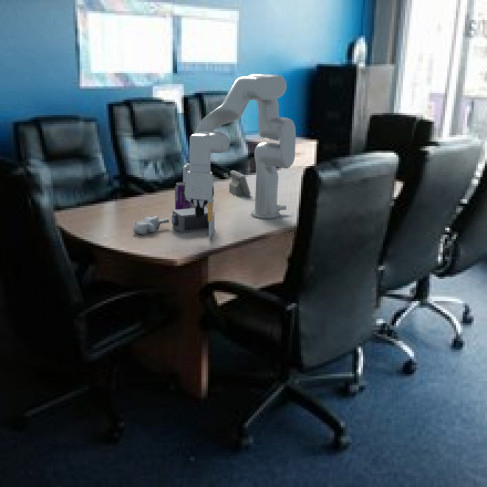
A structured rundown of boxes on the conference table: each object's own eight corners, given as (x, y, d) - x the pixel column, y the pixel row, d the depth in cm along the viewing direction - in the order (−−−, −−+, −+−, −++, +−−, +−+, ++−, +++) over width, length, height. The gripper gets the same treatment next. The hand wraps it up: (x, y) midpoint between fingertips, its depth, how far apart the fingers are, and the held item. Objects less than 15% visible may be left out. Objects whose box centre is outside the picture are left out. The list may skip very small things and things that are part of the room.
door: (210, 228, 228) (211, 195, 223) (214, 228, 228) (215, 195, 223) (207, 238, 215) (208, 203, 211) (211, 238, 215) (212, 203, 211)
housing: (204, 223, 236) (204, 205, 234) (214, 229, 228) (214, 210, 226) (169, 227, 229) (169, 208, 227) (178, 233, 221) (178, 214, 219)
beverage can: (188, 212, 251) (188, 185, 247) (173, 211, 252) (172, 184, 249) (193, 209, 258) (193, 182, 254) (178, 207, 259) (177, 181, 255)
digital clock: (251, 197, 284) (251, 175, 280) (233, 197, 282) (233, 175, 279) (244, 189, 299) (245, 169, 295) (227, 190, 297) (228, 169, 294)
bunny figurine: (127, 223, 219) (152, 210, 231) (128, 235, 221) (153, 222, 233) (146, 227, 214) (171, 214, 226) (147, 240, 217) (172, 226, 228)
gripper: (176, 168, 208) (177, 217, 214) (215, 171, 204) (215, 221, 210) (185, 164, 215) (185, 212, 221) (222, 168, 211) (221, 216, 217)
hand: (199, 216), depth 215 cm, fingers closed
